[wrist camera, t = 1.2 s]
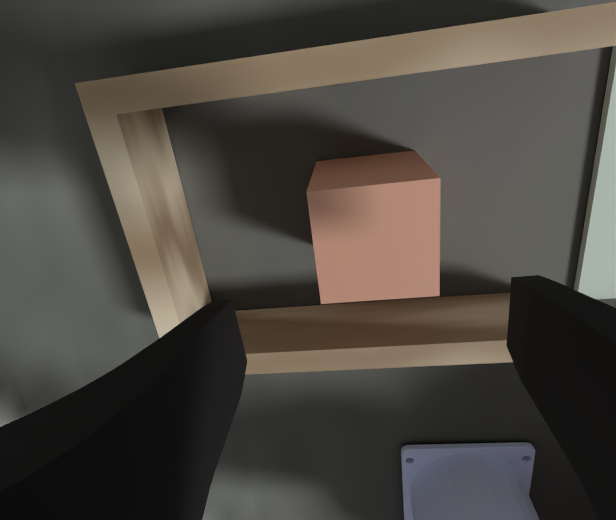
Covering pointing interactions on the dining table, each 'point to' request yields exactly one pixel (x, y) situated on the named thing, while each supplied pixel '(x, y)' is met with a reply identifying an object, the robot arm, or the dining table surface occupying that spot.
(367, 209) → the block
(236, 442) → the dining table surface
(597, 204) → the mat
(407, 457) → the robot arm
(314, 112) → the dining table surface
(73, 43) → the dining table surface
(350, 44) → the crate
